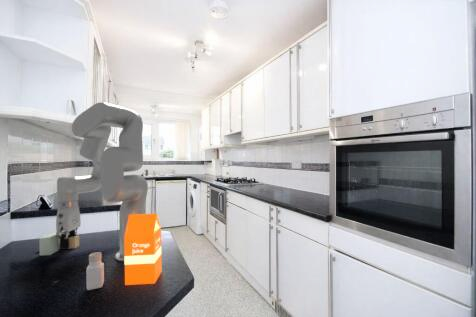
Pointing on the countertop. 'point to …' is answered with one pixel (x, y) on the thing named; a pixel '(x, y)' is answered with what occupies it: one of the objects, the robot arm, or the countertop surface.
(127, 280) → the orange juice
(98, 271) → the salt shaker
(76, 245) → the plug
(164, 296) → the countertop surface
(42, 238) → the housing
